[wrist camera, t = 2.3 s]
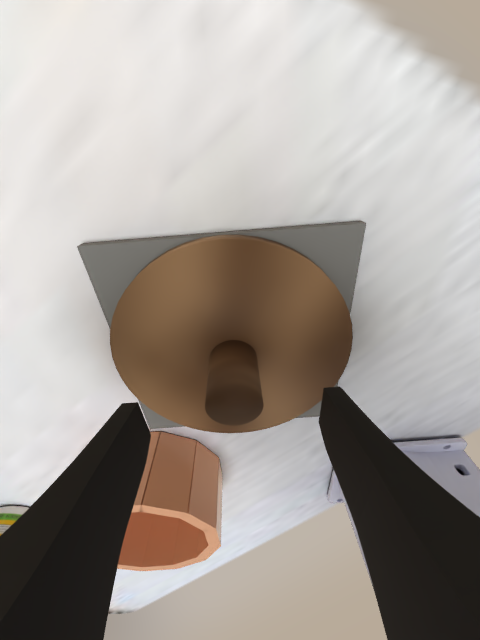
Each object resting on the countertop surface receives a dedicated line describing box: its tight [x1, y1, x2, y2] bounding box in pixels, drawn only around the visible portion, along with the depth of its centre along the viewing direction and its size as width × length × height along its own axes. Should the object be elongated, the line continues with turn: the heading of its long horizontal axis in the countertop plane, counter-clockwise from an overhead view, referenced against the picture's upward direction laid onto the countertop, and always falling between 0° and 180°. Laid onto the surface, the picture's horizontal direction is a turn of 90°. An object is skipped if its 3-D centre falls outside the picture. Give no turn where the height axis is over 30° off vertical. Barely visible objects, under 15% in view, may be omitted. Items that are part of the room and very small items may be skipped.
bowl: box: [117, 431, 222, 571], centre depth 18 cm, size 10×10×4 cm
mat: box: [77, 221, 366, 429], centre depth 14 cm, size 12×12×1 cm
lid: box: [110, 235, 353, 433], centre depth 12 cm, size 12×12×4 cm
